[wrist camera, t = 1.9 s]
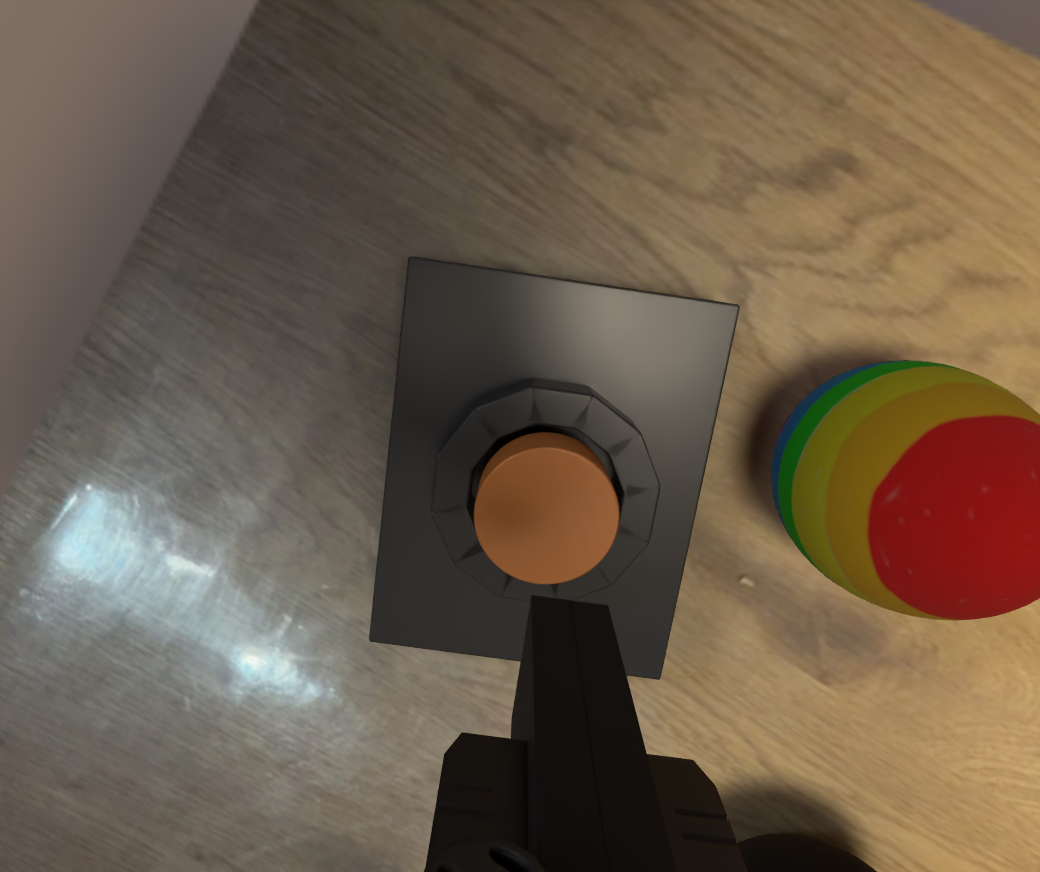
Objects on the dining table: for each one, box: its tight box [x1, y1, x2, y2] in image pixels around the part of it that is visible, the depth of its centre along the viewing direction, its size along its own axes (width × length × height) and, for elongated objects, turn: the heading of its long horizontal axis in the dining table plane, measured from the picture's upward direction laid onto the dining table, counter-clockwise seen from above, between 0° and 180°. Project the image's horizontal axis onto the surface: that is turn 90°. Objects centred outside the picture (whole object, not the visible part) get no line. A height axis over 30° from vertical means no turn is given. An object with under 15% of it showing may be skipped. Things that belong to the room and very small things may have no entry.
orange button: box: [474, 432, 619, 584], centre depth 22 cm, size 4×4×2 cm
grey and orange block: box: [369, 256, 740, 680], centre depth 25 cm, size 14×11×5 cm
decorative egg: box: [771, 360, 1040, 620], centre depth 22 cm, size 8×8×10 cm
